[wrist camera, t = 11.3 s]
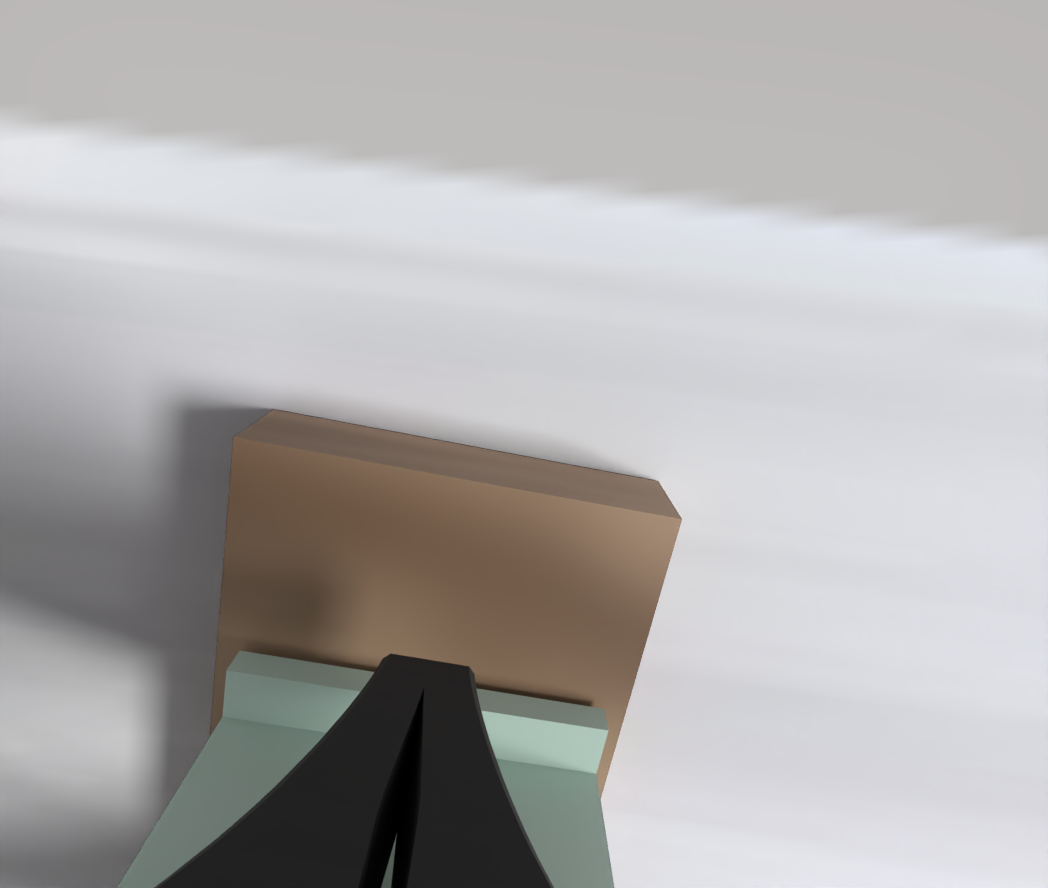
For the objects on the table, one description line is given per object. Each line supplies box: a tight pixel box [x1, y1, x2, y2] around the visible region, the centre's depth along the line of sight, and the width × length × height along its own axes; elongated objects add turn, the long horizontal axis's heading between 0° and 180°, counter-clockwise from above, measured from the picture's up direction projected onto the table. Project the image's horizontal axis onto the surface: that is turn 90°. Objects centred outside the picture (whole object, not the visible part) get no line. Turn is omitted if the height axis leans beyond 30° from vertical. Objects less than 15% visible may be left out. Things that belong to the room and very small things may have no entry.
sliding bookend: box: [117, 651, 614, 888], centre depth 10 cm, size 2×7×6 cm, turn 79°
